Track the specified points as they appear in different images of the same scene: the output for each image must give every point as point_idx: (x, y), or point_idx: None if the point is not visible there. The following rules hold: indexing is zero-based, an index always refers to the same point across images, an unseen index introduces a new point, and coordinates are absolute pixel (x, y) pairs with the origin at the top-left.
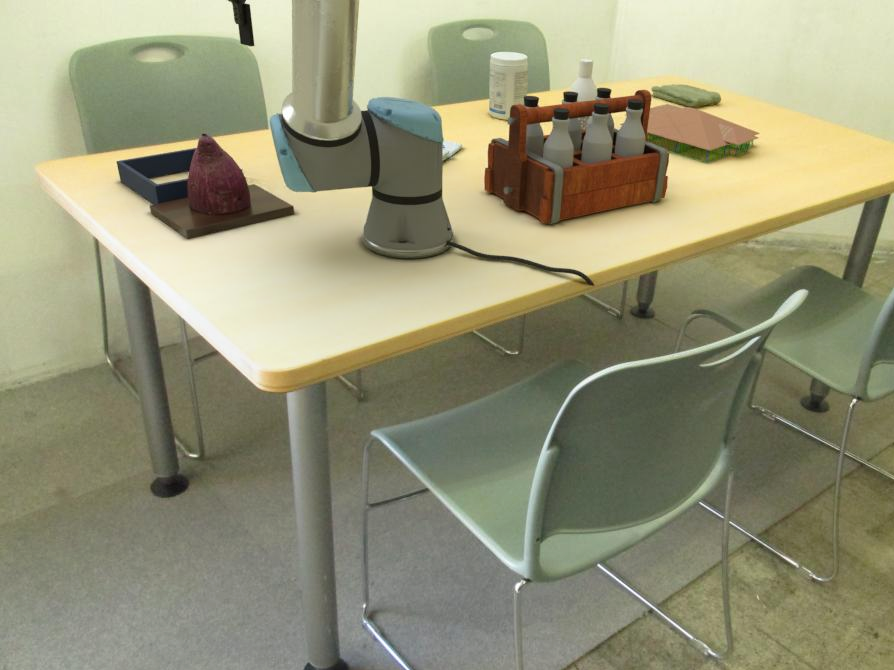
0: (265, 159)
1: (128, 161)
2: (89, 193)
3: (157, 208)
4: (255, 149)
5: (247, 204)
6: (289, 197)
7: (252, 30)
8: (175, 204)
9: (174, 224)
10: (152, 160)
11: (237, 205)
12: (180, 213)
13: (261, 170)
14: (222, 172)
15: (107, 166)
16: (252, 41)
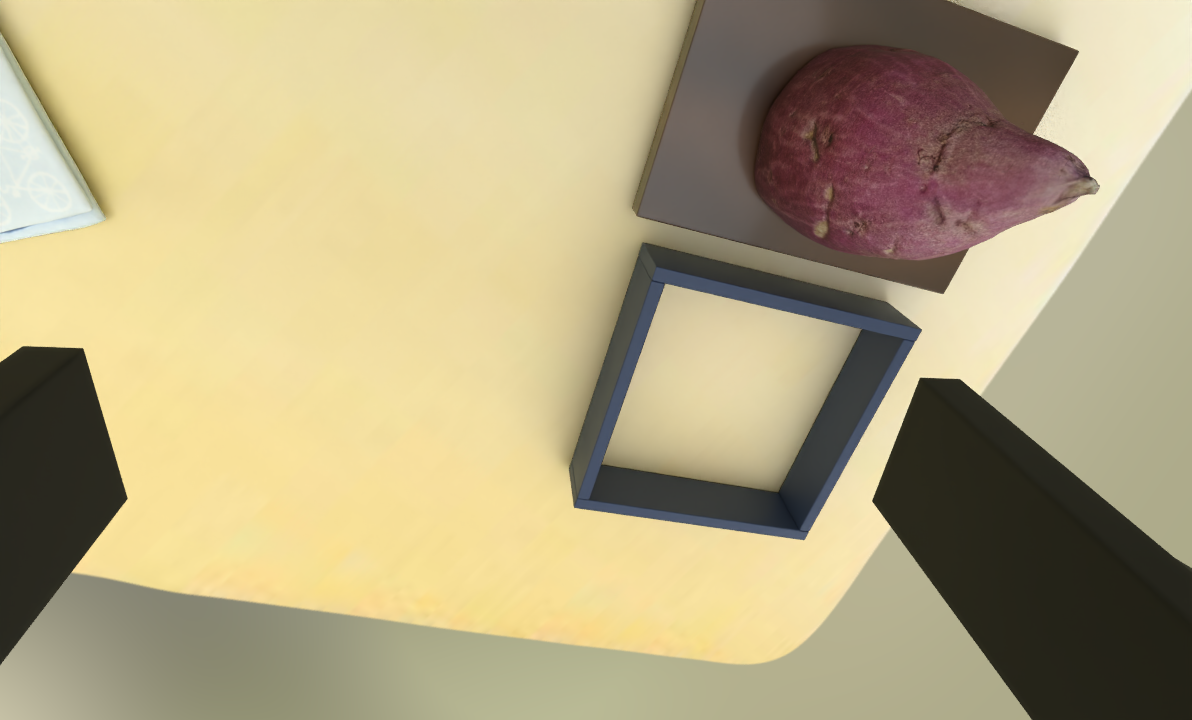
0: (386, 411)
1: (783, 526)
2: (878, 484)
3: (955, 260)
4: (347, 494)
5: (838, 48)
6: (599, 74)
7: (1020, 469)
8: None
9: None
10: (721, 512)
11: (889, 47)
12: None
13: (470, 344)
14: (977, 91)
15: (716, 594)
16: (965, 400)
